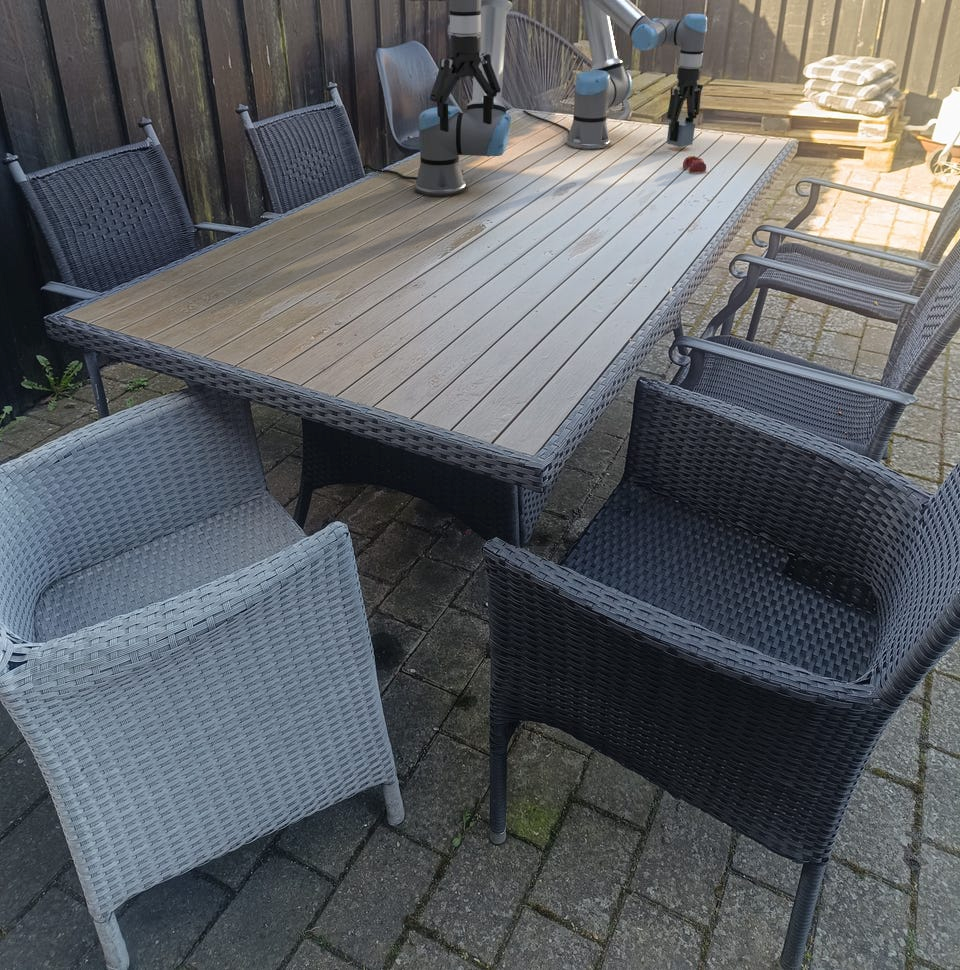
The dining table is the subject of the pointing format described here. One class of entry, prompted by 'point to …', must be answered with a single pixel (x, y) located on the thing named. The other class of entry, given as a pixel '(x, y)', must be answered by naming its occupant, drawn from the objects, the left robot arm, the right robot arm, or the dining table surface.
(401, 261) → the dining table surface
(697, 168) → the dark red rounded lump
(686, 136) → the cube
